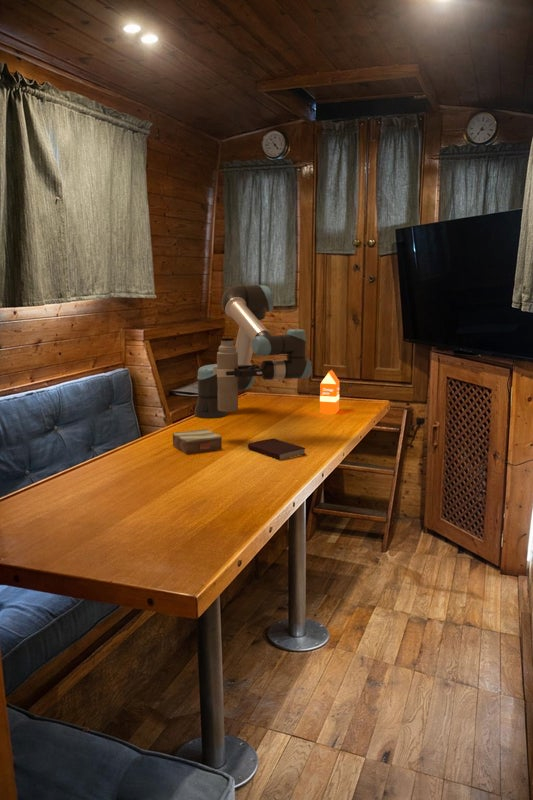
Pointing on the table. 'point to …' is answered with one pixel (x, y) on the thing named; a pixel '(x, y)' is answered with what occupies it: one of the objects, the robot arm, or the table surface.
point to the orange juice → (329, 394)
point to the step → (197, 441)
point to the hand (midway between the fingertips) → (215, 371)
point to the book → (276, 448)
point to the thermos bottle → (227, 385)
